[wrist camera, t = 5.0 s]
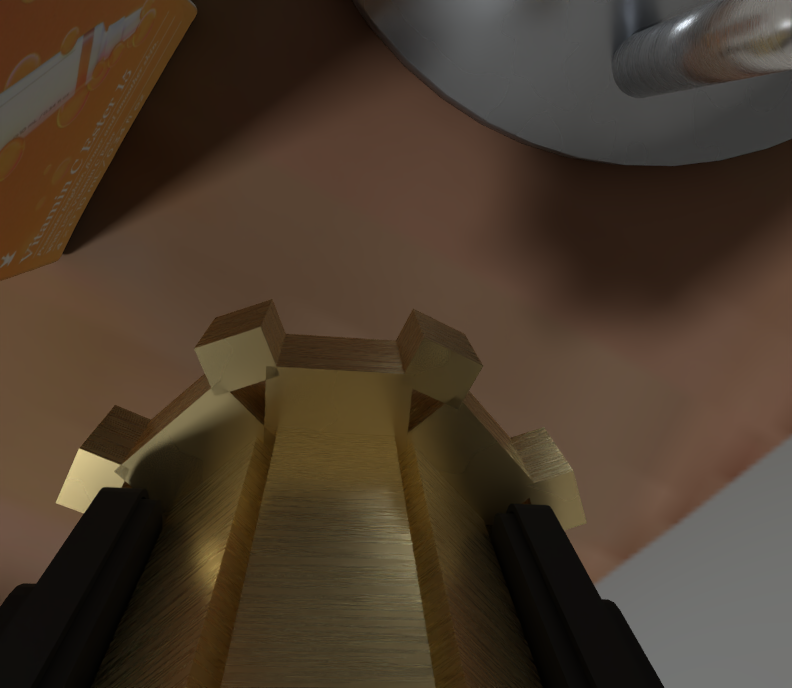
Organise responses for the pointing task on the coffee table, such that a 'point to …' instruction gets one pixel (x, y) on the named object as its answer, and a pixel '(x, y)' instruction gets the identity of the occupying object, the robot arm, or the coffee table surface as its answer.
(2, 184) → the small box
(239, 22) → the coffee table surface
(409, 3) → the carrier
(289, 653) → the gear
